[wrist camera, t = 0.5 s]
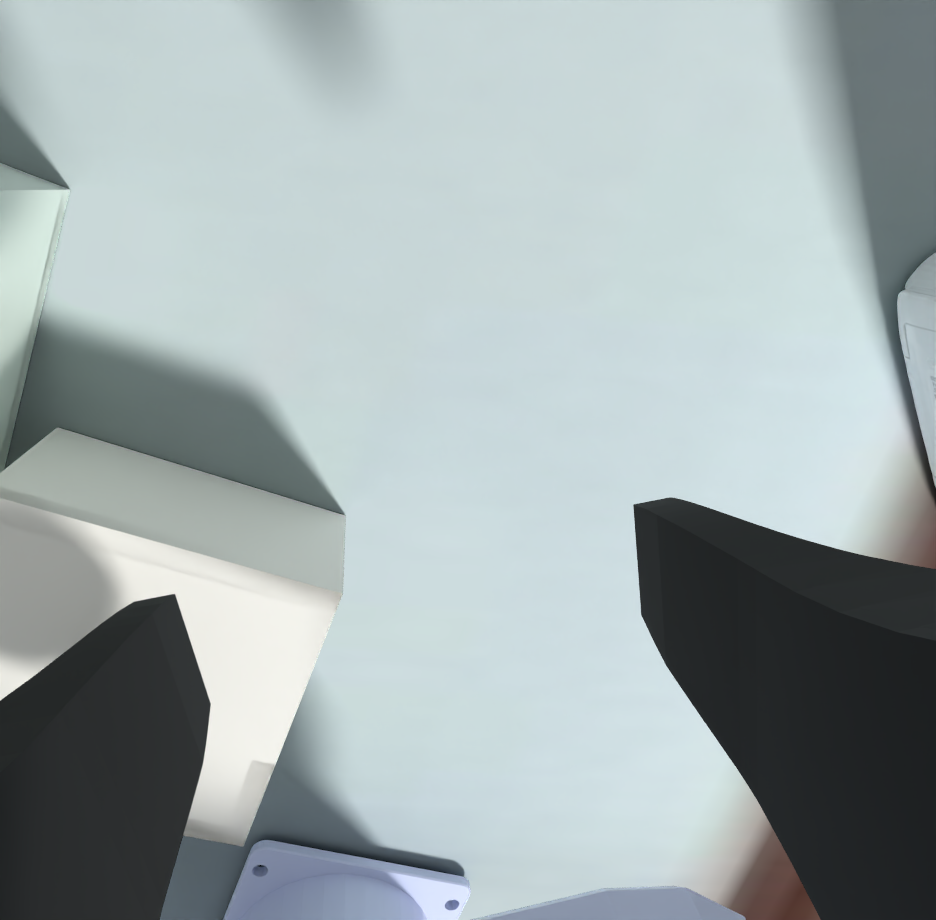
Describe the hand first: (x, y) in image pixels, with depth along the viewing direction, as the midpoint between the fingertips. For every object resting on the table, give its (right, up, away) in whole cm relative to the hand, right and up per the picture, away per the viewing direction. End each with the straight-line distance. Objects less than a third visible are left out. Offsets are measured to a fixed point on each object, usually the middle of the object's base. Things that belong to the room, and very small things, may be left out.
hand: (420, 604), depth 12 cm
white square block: (-8, -2, +10) cm, 13 cm away
